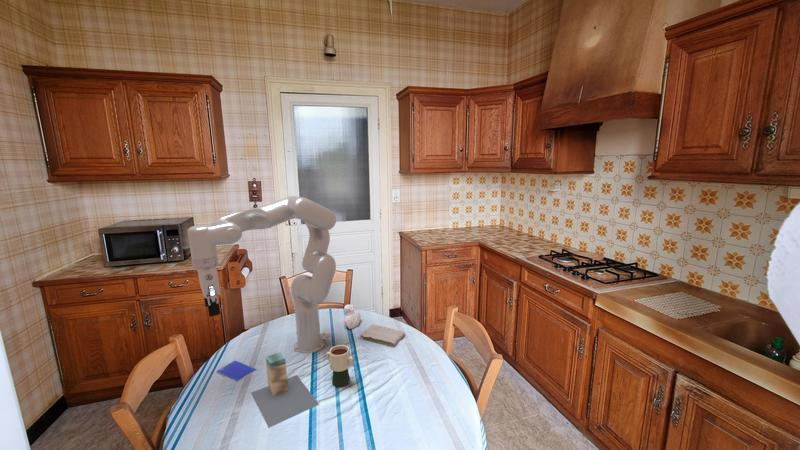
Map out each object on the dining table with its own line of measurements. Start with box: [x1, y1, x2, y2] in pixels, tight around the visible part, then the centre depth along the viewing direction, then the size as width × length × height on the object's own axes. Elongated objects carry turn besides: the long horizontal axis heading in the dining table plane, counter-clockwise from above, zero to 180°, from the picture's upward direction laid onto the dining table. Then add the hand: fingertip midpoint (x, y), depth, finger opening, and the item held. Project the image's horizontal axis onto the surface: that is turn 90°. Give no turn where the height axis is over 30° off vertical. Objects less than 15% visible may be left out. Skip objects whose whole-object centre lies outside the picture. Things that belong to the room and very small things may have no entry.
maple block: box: [265, 351, 288, 396], centre depth 118 cm, size 5×5×12 cm
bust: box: [343, 303, 362, 330], centre depth 165 cm, size 12×8×11 cm
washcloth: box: [359, 324, 406, 348], centre depth 154 cm, size 12×18×3 cm, turn 64°
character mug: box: [326, 344, 355, 388], centre depth 121 cm, size 11×7×13 cm, turn 67°
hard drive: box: [215, 360, 257, 382], centre depth 130 cm, size 2×8×12 cm
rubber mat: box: [250, 374, 320, 429], centre depth 114 cm, size 16×20×1 cm
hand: (212, 310), depth 117 cm, fingers open, 9 cm apart
